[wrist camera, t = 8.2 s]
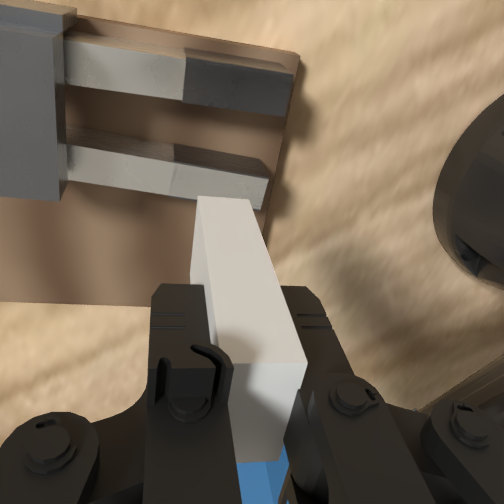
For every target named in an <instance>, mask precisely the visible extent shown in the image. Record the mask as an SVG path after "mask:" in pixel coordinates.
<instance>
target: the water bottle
mask: <svg viewBox="0 0 504 504" xmlns="http://www.w3.org/2000/svg"><path fill="white" fill-rule="evenodd" d="M236 464H237V471H238V478H239V485H240V492H241V498H242V504H278V498H279V495H280V492H281V489H282V486H283V483H284V480H285V476H286V473H287V470H288V467H289V462H288V458H287V454H286V450H285V446H284V445H283V448H282V452H281V455H280V458H279V461H268V462H249V463H236ZM286 504H289V502H288V500H287V503H286Z"/></svg>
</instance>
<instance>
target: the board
mask: <svg viewBox="0 0 504 504" xmlns="http://www.w3.org/2000/svg"><path fill="white" fill-rule="evenodd" d="M66 30H71V31H77V32H83V33H89V34H95V35H102V36H108V37H114V38H120V39H126V40H132V41H138V42H144V43H150V44H156V45H162V46H168V47H174V48H180V49H184V47H187V48H193V49H199V50H205V51H211V52H217V53H223V54H230V55H236V56H242V57H248V58H254V59H260V60H266V61H272V62H278V63H281V64H282V65H283V66H284V67H286V68H287V69H288V70H289V71H290V72H292V73H293V74H294V75H293V80H292V84H291V89H290V94H289V99H288V103H287V108H286V113H285V117H283V116H275V115H268V114H261V113H254V112H246V111H239V110H232V109H225V108H217V107H210V106H203V105H196V104H188V103H182V100H176V99H168V98H161V97H154V96H147V95H140V94H132V93H125V92H118V91H111V90H104V89H97V88H89V87H82V86H75V85H68V84H65V113H66V125H70V126H76V127H81V128H86V129H92V130H97V131H103V132H108V133H113V134H119V135H124V136H130V137H135V138H140V139H146V140H151V141H157V142H162V143H167V144H173V143H177V144H182V145H188V146H193V147H198V148H204V149H209V150H215V151H220V152H225V153H231V154H236V155H241V156H247V157H252V158H258V159H260V160H261V162H262V164H263V166H264V168H265V170H266V172H267V174H268V176H269V180H268V184H267V187H266V191H265V195H264V198H263V202H262V205H261V209H260V211H255V210H253V212H254V215H255V218H256V221H257V223H258V226H259V229H260V232H261V234H262V233H263V229H264V224H265V219H266V214H267V210H268V205H269V200H270V196H271V191H272V186H273V181H274V177H275V172H276V167H277V163H278V158H279V153H280V149H281V144H282V139H283V134H284V130H285V125H286V120H287V116H288V111H289V106H290V101H291V97H292V92H293V87H294V83H295V78H296V73H297V69H298V64H299V59H300V55H298V54H297V53H295V52H290V51H285V50H279V49H273V48H267V47H262V46H256V45H250V44H244V43H238V42H233V41H227V40H221V39H215V38H210V37H204V36H198V35H192V34H187V33H181V32H175V31H169V30H163V29H158V28H152V27H146V26H140V25H135V24H129V23H123V22H117V21H111V20H106V19H100V18H94V17H88V16H83V15H77V23H76V24H74V25H72V26H71V27H69V28H68V29H66ZM196 209H197V201H190V200H184V199H177V198H171V197H168V195H163V194H157V193H150V192H144V191H137V190H131V189H124V188H118V187H111V186H105V185H99V184H92V183H86V182H79V181H73V180H68V184H67V187H66V189H65V191H64V193H63V196H62V198H61V200H60V202H57V201H45V200H33V199H21V198H9V197H0V302H27V303H55V304H84V305H113V306H141V307H151V296H152V295H153V294H154V292H155V291H156V290H157V288H158V287H159V285H160V284H161V283H170V284H191V283H190V268H191V258H192V248H193V238H194V228H195V218H196Z"/></svg>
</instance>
